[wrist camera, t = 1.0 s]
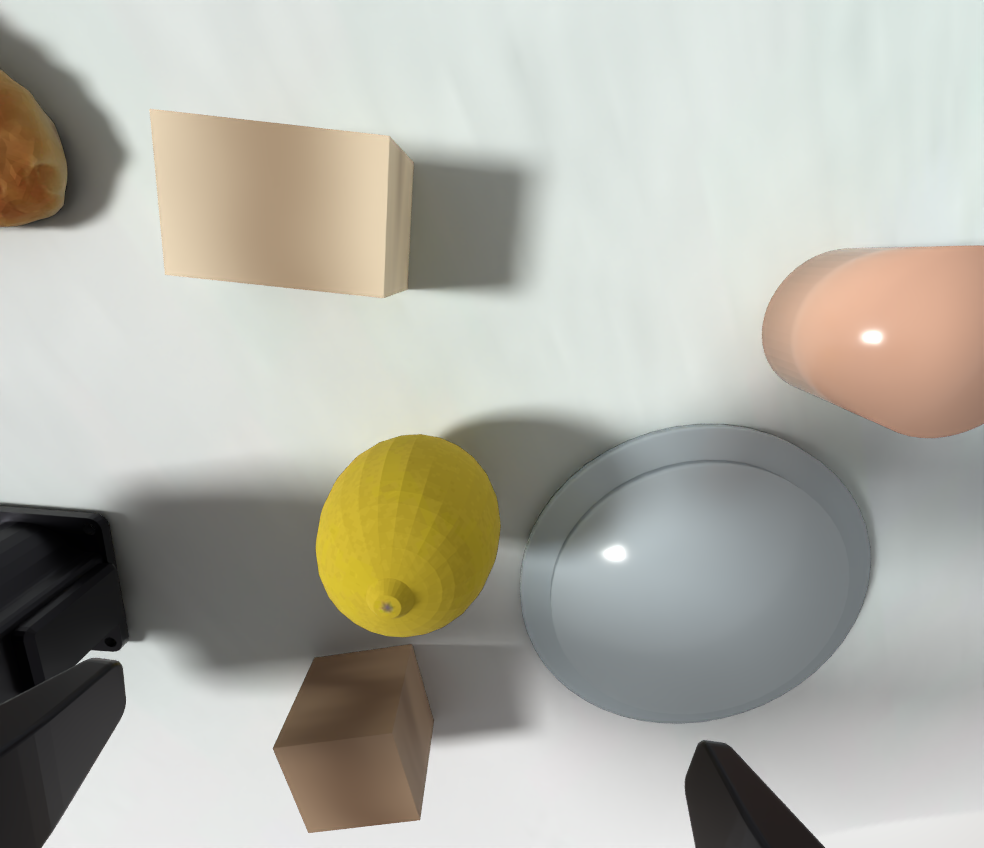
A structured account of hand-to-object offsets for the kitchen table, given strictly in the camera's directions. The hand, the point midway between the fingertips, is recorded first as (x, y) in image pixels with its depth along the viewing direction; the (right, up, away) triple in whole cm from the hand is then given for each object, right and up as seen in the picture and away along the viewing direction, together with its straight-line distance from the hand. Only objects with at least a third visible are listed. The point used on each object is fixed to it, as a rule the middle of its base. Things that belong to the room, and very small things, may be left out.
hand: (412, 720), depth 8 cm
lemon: (-1, +3, +12) cm, 13 cm away
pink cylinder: (+13, +8, +10) cm, 19 cm away
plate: (+9, -2, +13) cm, 17 cm away
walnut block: (-4, -8, +16) cm, 18 cm away
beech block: (-4, +12, +9) cm, 16 cm away
